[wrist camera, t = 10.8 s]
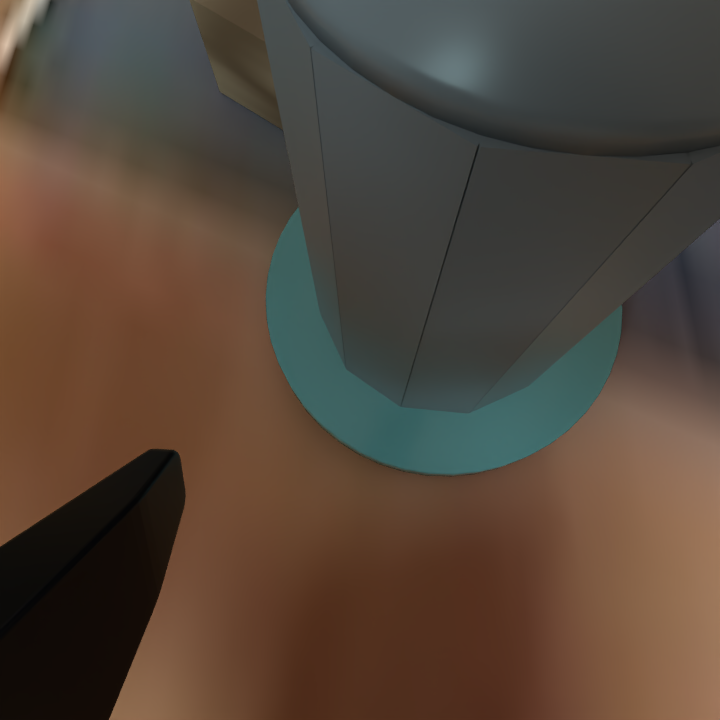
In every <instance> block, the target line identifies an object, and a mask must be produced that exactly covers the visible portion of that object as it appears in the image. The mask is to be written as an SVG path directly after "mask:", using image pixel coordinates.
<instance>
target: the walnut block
mask: <svg viewBox="0 0 720 720" xmlns="http://www.w3.org/2000/svg"><path fill="white" fill-rule="evenodd" d="M190 2H191V5H192V8H193V11H194V14H195V18H196V21H197V24H198V27H199V30H200V33H201V36H202V39H203V42H204V45H205V48H206V51H207V54H208V57H209V60H210V63H211V66H212V69H213V72H214V75H215V78H216V81H217V85H218V88H219V91H220V92H221V93H223V94H224V95H226V96H228V97H229V98H231V99H233V100H234V101H236V102H238V103H239V104H241V105H243V106H244V107H246V108H247V109H249V110H251V111H252V112H254V113H256V114H257V115H259V116H261V117H262V118H264V119H266V120H267V121H269V122H270V123H272V124H274V125H275V126H277V127H279V128H280V129H282V130H283V127H282V122H281V117H280V112H279V107H278V102H277V97H276V92H275V87H274V82H273V77H272V72H271V67H270V62H269V58H268V53H267V48H266V43H265V38H264V33H263V28H262V23H261V18H260V13H259V8H258V3H257V0H190Z"/></svg>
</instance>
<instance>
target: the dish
mask: <svg viewBox="0 0 720 720" xmlns="http://www.w3.org/2000/svg"><path fill="white" fill-rule="evenodd" d="M266 313H267V323H268V328H269V333H270V338H271V343H272V346H273V348H274V351H275V354H276V357H277V360H278V363H279V365H280V367H281V369H282V371H283V373H284V375H285V377H286V379H287V381H288V383H289V385H290V386H291V388H292V390H293V392H294V394H295V395H296V397H297V398H298V400H299V401H300V403H301V404H302V405H303V407H304V408H305V410H306V411H307V412H308V413H309V414H310V415H311V417H312V418H313V419H314V420H315V421H316V422H317V423H318V424H319V425H320V426H321V427H322V428H323V429H324V430H325V431H326V432H328V433H329V434H330V435H331V436H332V437H334V438H335V439H336V440H337V441H338V442H340V443H341V444H343V445H344V446H346V447H348V448H349V449H351V450H352V451H354V452H355V453H357V454H359V455H361V456H363V457H365V458H367V459H369V460H372V461H374V462H376V463H378V464H380V465H383V466H387V467H390V468H393V469H396V470H400V471H403V472H408V473H414V474H420V475H426V476H461V475H471V474H477V473H481V472H485V471H490V470H494V469H498V468H500V467H503V466H505V465H508V464H511V463H513V462H516V461H518V460H521V459H523V458H525V457H527V456H529V455H531V454H533V453H535V452H537V451H538V450H540V449H542V448H544V447H546V446H547V445H549V444H551V443H552V442H553V441H555V440H556V439H557V438H559V437H560V436H561V435H563V434H564V433H565V432H567V431H568V430H569V429H570V428H571V427H572V426H573V425H574V424H575V423H576V422H577V421H578V420H579V419H580V418H581V417H582V416H583V415H584V414H585V413H586V412H587V410H588V409H589V407H590V406H591V405H592V403H593V402H594V401H595V399H596V398H597V397H598V395H599V394H600V392H601V390H602V388H603V386H604V384H605V382H606V380H607V378H608V377H609V375H610V372H611V369H612V366H613V363H614V361H615V358H616V355H617V351H618V346H619V341H620V336H621V327H622V305H620V306H619V307H618V308H617V309H616V310H615V311H614V312H612V313H611V314H610V315H609V316H608V317H607V318H606V319H604V320H603V321H602V322H601V323H600V324H599V325H598V326H597V327H595V328H594V329H593V330H592V331H591V332H590V333H589V334H587V335H586V336H585V337H584V338H583V339H582V340H581V341H579V342H578V343H577V344H576V345H575V346H574V347H573V348H571V349H570V350H569V351H568V352H567V353H566V354H565V355H563V356H562V357H561V358H560V359H559V360H558V361H557V362H555V363H554V364H553V365H552V366H551V367H550V368H549V369H547V370H546V371H545V372H544V373H543V374H542V375H541V376H539V377H538V378H537V379H536V380H535V381H534V382H533V383H531V384H530V385H529V386H528V387H526V388H524V389H521V390H519V391H517V392H515V393H513V394H511V395H508V396H506V397H504V398H502V399H500V400H497V401H495V402H493V403H491V404H489V405H486V406H484V407H482V408H480V409H478V410H475V411H473V412H471V413H468V414H466V413H456V412H446V411H435V410H425V409H415V408H405V407H401V406H398V405H397V404H395V403H394V402H392V401H391V400H390V399H388V398H387V397H385V396H384V395H382V394H381V393H380V392H378V391H377V390H375V389H374V388H372V387H371V386H369V385H368V384H367V383H365V382H364V381H362V380H361V379H359V378H358V377H357V376H355V375H354V374H352V373H351V372H349V371H348V370H346V368H345V366H344V364H343V362H342V360H341V357H340V355H339V353H338V351H337V349H336V347H335V344H334V342H333V340H332V338H331V336H330V334H329V331H328V329H327V327H326V325H325V323H324V321H323V318H322V316H321V314H320V311H319V306H318V301H317V296H316V291H315V286H314V281H313V276H312V271H311V266H310V261H309V256H308V251H307V246H306V241H305V236H304V231H303V226H302V221H301V216H300V211H299V207H298V208H297V210H296V211H295V212H294V214H293V215H292V216H291V218H290V219H289V221H288V223H287V225H286V226H285V228H284V230H283V232H282V234H281V236H280V238H279V240H278V243H277V245H276V248H275V251H274V253H273V256H272V260H271V264H270V269H269V273H268V278H267V289H266Z"/></svg>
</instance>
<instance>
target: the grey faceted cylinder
mask: <svg viewBox="0 0 720 720" xmlns="http://www.w3.org/2000/svg"><path fill="white" fill-rule="evenodd" d="M257 3H258V8H259V13H260V18H261V23H262V28H263V33H264V38H265V43H266V48H267V53H268V58H269V62H270V67H271V72H272V77H273V82H274V87H275V92H276V97H277V102H278V107H279V112H280V117H281V122H282V127H283V132H284V137H285V142H286V147H287V152H288V157H289V162H290V167H291V172H292V177H293V182H294V187H295V192H296V197H297V202H298V207H299V211H300V216H301V221H302V226H303V231H304V236H305V241H306V246H307V251H308V256H309V261H310V266H311V271H312V276H313V281H314V286H315V291H316V296H317V301H318V306H319V311H320V314H321V316H322V318H323V321H324V323H325V325H326V327H327V329H328V331H329V334H330V336H331V338H332V340H333V342H334V344H335V347H336V349H337V351H338V353H339V355H340V357H341V360H342V362H343V364H344V366H345V368H346V370H348V371H349V372H351V373H352V374H354V375H355V376H357V377H358V378H359V379H361V380H362V381H364V382H365V383H367V384H368V385H369V386H371V387H372V388H374V389H375V390H377V391H378V392H380V393H381V394H382V395H384V396H385V397H387V398H388V399H390V400H391V401H392V402H394V403H395V404H397V405H398V406H401V407H405V408H415V409H425V410H435V411H446V412H456V413H466V414H468V413H471V412H473V411H475V410H478V409H480V408H482V407H484V406H486V405H489V404H491V403H493V402H495V401H497V400H500V399H502V398H504V397H506V396H508V395H511V394H513V393H515V392H517V391H519V390H521V389H524V388H526V387H528V386H529V385H530V384H531V383H533V382H534V381H535V380H536V379H537V378H538V377H539V376H541V375H542V374H543V373H544V372H545V371H546V370H547V369H549V368H550V367H551V366H552V365H553V364H554V363H555V362H557V361H558V360H559V359H560V358H561V357H562V356H563V355H565V354H566V353H567V352H568V351H569V350H570V349H571V348H573V347H574V346H575V345H576V344H577V343H578V342H579V341H581V340H582V339H583V338H584V337H585V336H586V335H587V334H589V333H590V332H591V331H592V330H593V329H594V328H595V327H597V326H598V325H599V324H600V323H601V322H602V321H603V320H604V319H606V318H607V317H608V316H609V315H610V314H611V313H612V312H614V311H615V310H616V309H617V308H618V307H619V306H620V305H622V304H623V303H624V302H625V301H626V300H627V299H628V298H630V297H631V296H632V295H633V294H634V293H635V292H636V291H638V290H639V289H640V288H641V287H642V286H643V285H644V284H646V283H647V282H648V281H649V280H650V279H651V278H652V277H654V276H655V275H656V274H657V273H658V272H659V271H660V270H662V269H663V268H664V267H665V266H666V265H667V264H668V263H670V262H671V261H672V260H673V259H674V258H675V257H676V256H678V255H679V254H680V253H681V252H682V251H683V250H684V249H686V248H687V247H688V246H689V245H690V244H691V243H692V242H694V241H695V240H696V239H697V238H698V237H699V236H700V235H702V234H703V233H704V232H705V231H706V230H707V229H708V228H710V227H711V226H712V225H713V224H714V223H715V222H716V221H718V220H719V219H720V0H257Z"/></svg>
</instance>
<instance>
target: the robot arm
mask: <svg viewBox="0 0 720 720" xmlns="http://www.w3.org/2000/svg"><path fill="white" fill-rule="evenodd" d="M185 497H186V494H185V485H184V479H183V472H182V466H181V460H180V456H179V454H178V452H176V451H175V450H169V449H150V450H148V451H146V452H145V453H143V454H142V455H140V456H138V457H137V458H135V459H134V460H132V461H131V462H129V463H128V464H126V465H125V466H123V467H122V468H120V469H119V470H117V471H115V472H114V473H112V474H111V475H109V476H108V477H106V478H105V479H103V480H102V481H100V482H99V483H97V484H96V485H94V486H93V487H91V488H89V489H88V490H86V491H85V492H83V493H82V494H80V495H79V496H77V497H76V498H74V499H73V500H71V501H70V502H68V503H66V504H65V505H63V506H62V507H60V508H59V509H57V510H56V511H54V512H53V513H51V514H50V515H48V516H47V517H45V518H43V519H42V520H40V521H39V522H37V523H36V524H34V525H33V526H31V527H30V528H28V529H27V530H25V531H24V532H22V533H21V534H19V535H17V536H16V537H14V538H13V539H11V540H10V541H8V542H7V543H5V544H4V545H2V546H1V547H0V720H109V718H110V716H111V713H112V711H113V708H114V706H115V703H116V701H117V699H118V696H119V694H120V691H121V689H122V686H123V684H124V681H125V679H126V676H127V674H128V671H129V669H130V667H131V664H132V662H133V659H134V657H135V654H136V652H137V649H138V647H139V644H140V642H141V640H142V637H143V635H144V632H145V630H146V627H147V625H148V622H149V620H150V617H151V615H152V613H153V610H154V607H155V605H156V602H157V599H158V597H159V593H160V590H161V587H162V584H163V580H164V577H165V573H166V570H167V566H168V562H169V559H170V555H171V552H172V548H173V545H174V541H175V537H176V534H177V530H178V527H179V523H180V520H181V516H182V513H183V509H184V505H185Z"/></svg>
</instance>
